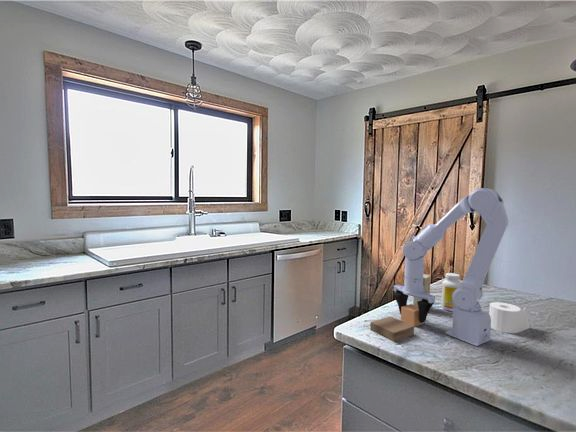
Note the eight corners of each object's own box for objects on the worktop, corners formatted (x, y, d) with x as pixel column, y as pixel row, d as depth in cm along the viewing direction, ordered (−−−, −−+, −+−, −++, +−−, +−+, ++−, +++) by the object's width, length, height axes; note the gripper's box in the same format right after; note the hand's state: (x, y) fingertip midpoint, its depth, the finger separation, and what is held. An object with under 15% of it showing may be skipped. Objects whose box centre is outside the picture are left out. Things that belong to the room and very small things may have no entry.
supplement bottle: (464, 312, 116) (466, 276, 115) (446, 311, 117) (447, 276, 116) (455, 305, 123) (457, 272, 122) (438, 305, 123) (439, 272, 122)
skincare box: (425, 311, 116) (426, 278, 116) (412, 309, 119) (413, 276, 118) (429, 306, 122) (431, 274, 121) (417, 304, 124) (418, 272, 123)
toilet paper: (529, 328, 103) (531, 306, 103) (510, 335, 98) (512, 313, 97) (502, 319, 110) (503, 299, 110) (483, 325, 105) (484, 304, 104)
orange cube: (423, 323, 106) (424, 308, 106) (413, 326, 104) (414, 311, 103) (410, 318, 111) (411, 304, 110) (400, 321, 108) (401, 306, 108)
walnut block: (413, 336, 98) (414, 326, 98) (393, 343, 93) (393, 332, 93) (390, 325, 106) (390, 316, 105) (370, 331, 101) (370, 322, 101)
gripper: (388, 274, 110) (386, 313, 111) (425, 284, 98) (423, 328, 99) (402, 271, 114) (400, 309, 115) (439, 281, 101) (438, 323, 102)
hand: (412, 317), depth 107 cm, fingers open, 7 cm apart
